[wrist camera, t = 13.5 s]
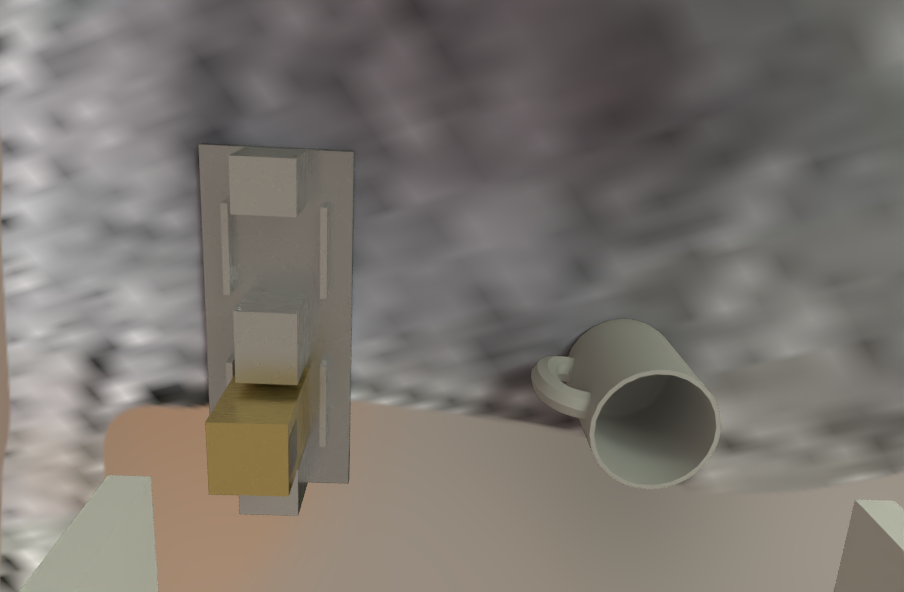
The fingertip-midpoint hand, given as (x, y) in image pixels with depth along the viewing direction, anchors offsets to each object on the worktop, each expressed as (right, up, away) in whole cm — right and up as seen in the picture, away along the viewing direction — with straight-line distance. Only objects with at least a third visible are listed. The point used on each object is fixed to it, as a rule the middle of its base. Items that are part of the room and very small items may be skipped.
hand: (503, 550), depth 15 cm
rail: (-12, +3, +35) cm, 37 cm away
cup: (+8, 0, +37) cm, 38 cm away
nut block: (-12, -2, +36) cm, 38 cm away
